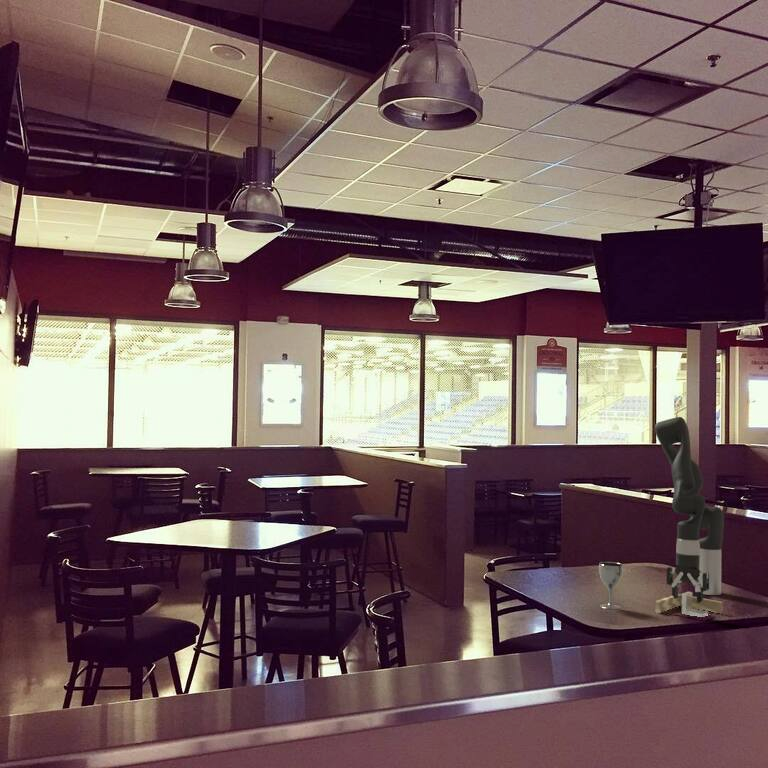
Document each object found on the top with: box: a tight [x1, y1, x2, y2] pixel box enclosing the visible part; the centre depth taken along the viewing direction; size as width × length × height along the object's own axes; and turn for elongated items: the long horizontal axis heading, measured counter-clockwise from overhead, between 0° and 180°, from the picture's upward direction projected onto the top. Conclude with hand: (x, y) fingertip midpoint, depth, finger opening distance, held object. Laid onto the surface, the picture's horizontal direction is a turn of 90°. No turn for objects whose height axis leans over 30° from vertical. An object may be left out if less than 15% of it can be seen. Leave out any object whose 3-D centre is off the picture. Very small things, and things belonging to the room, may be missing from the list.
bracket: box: [681, 591, 709, 617], centre depth 265 cm, size 7×5×7 cm
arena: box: [654, 593, 724, 615], centre depth 268 cm, size 18×16×4 cm
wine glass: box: [598, 561, 624, 610], centre depth 274 cm, size 8×8×15 cm
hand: (687, 600), depth 267 cm, fingers open, 7 cm apart
